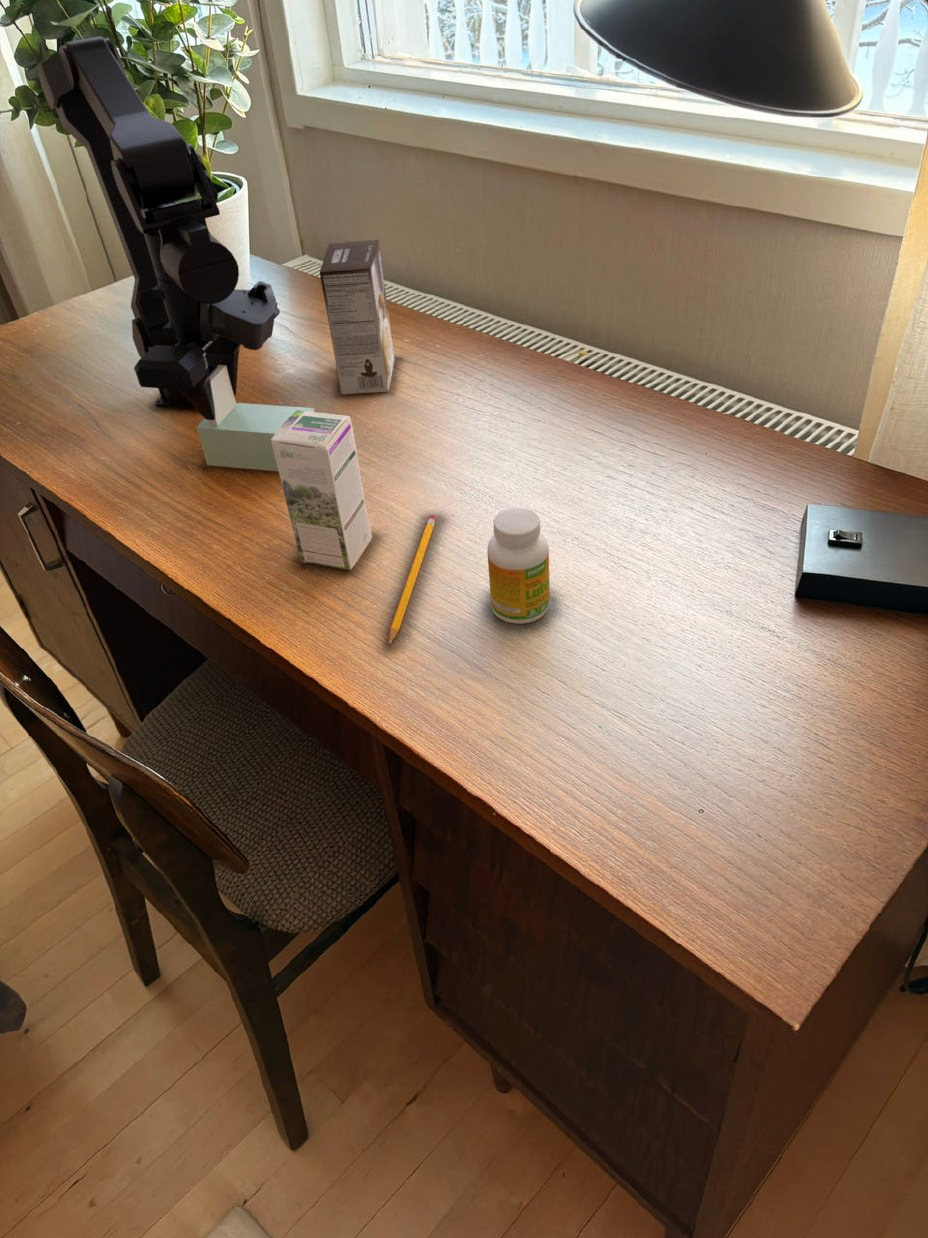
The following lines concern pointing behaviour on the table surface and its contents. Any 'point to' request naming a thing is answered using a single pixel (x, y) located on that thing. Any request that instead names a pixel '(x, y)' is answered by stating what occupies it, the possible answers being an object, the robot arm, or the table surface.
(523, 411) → the table surface
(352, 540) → the syrup box
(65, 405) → the table surface
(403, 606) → the pencil
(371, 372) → the coffee box
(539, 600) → the supplement bottle
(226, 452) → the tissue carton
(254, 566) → the table surface
